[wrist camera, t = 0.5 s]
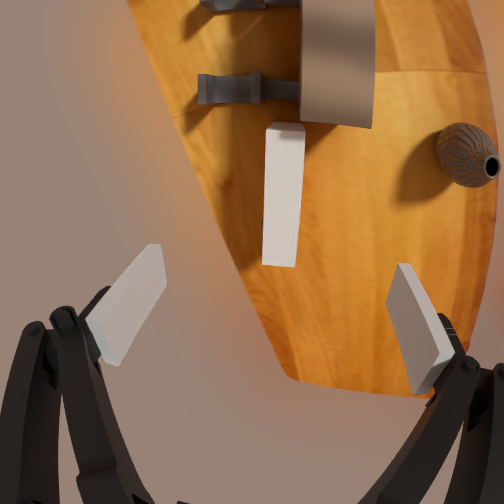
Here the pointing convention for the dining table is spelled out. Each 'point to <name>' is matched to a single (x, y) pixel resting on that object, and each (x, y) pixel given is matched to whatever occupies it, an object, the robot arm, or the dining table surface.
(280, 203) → the door
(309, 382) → the dining table surface
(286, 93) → the cabinet
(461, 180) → the vase
